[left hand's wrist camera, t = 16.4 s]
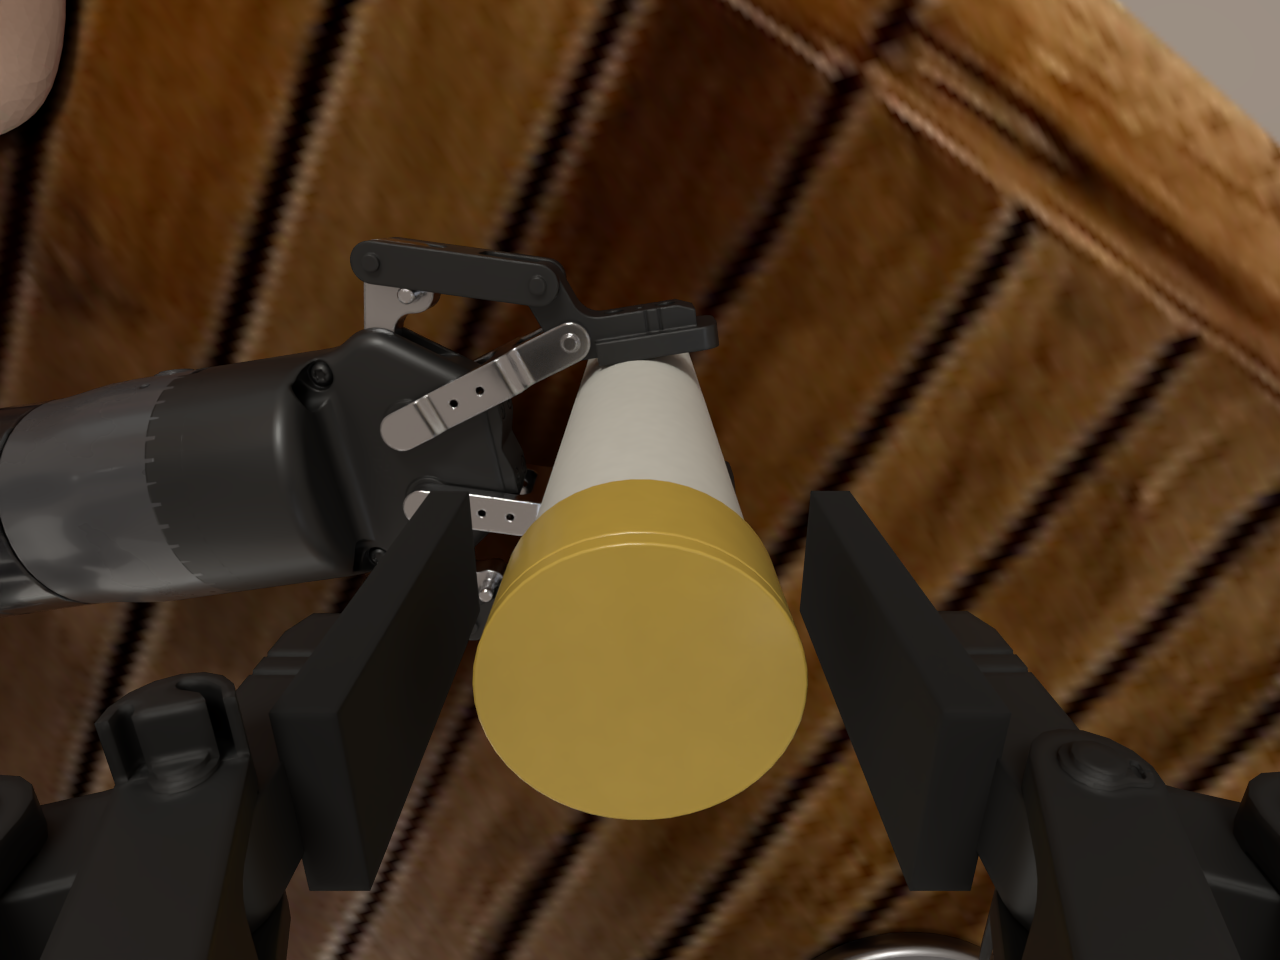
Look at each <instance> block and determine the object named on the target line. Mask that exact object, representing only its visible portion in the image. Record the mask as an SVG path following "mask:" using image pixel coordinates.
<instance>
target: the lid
mask: <svg viewBox="0 0 1280 960" xmlns="http://www.w3.org/2000/svg"><path fill="white" fill-rule="evenodd" d="M472 683H473V694H474V702H475V706H476V710H477V713H478V717H479V720H480V723H481V725H482V727H483V730H484V732H485V734H486V737H487V738H488V740H489V741H490V743H491V745H492V746H493V748H494V750H495V751H496V753H497V754H498V755H499V756H500V758H501V759H502V760H503V761H504V762H505V764H506V765H507V766H508V767H509V768H510V769H511V770H512V771H513V772H514V773H515V774H516V775H517V776H518V777H519V778H521V779H522V780H523V781H524V782H526V783H527V784H528V785H530V786H531V787H533V788H534V789H535V790H537V791H538V792H540V793H542V794H544V795H545V796H547V797H549V798H551V799H552V800H554V801H557V802H559V803H561V804H563V805H566V806H568V807H570V808H573V809H576V810H580V811H583V812H586V813H589V814H593V815H598V816H603V817H608V818H616V819H626V820H654V819H664V818H672V817H677V816H682V815H687V814H691V813H694V812H697V811H701V810H704V809H707V808H710V807H712V806H714V805H717V804H719V803H721V802H724V801H726V800H728V799H730V798H731V797H733V796H735V795H737V794H738V793H740V792H742V791H744V790H745V789H746V788H748V787H749V786H750V785H752V784H753V783H755V782H756V781H757V780H759V779H760V778H761V777H762V776H763V775H764V774H765V773H766V772H767V771H768V770H769V769H770V768H771V767H772V766H773V765H774V764H775V763H776V762H777V760H778V759H779V758H780V757H781V755H782V754H783V753H784V752H785V750H786V748H787V747H788V745H789V744H790V742H791V740H792V739H793V737H794V735H795V733H796V730H797V728H798V726H799V723H800V721H801V718H802V714H803V711H804V707H805V703H806V697H807V687H808V676H807V663H806V658H805V654H804V649H803V646H802V643H801V640H800V637H799V635H798V632H797V629H796V627H795V624H794V621H793V618H792V616H791V613H790V610H789V608H788V605H787V602H786V599H785V597H784V594H783V591H782V589H781V586H780V583H779V581H778V578H777V575H776V572H775V570H774V567H773V564H772V562H771V559H770V557H769V554H768V552H767V550H766V549H765V547H764V545H763V543H762V542H761V540H760V538H759V537H758V536H757V534H756V533H755V532H754V531H753V529H752V528H751V527H750V525H748V524H747V523H746V522H745V521H744V520H743V519H742V518H741V517H740V516H739V515H738V514H737V513H736V512H735V511H733V510H732V509H730V508H729V507H728V506H726V505H725V504H724V503H722V502H721V501H719V500H717V499H715V498H713V497H711V496H710V495H708V494H706V493H703V492H701V491H698V490H696V489H693V488H691V487H688V486H684V485H680V484H676V483H672V482H667V481H659V480H651V479H629V480H621V481H613V482H608V483H604V484H600V485H596V486H592V487H590V488H587V489H584V490H582V491H579V492H577V493H574V494H573V495H571V496H569V497H567V498H565V499H563V500H561V501H560V502H558V503H557V504H555V505H554V506H553V507H551V508H550V509H548V510H547V511H546V512H544V513H543V514H542V515H541V516H540V517H539V518H538V519H537V520H536V521H535V522H534V523H533V524H532V525H531V526H530V527H529V528H528V530H527V531H526V532H525V533H524V535H523V536H522V537H521V539H520V540H519V542H518V544H517V546H516V547H515V549H514V551H513V552H512V555H511V557H510V560H509V562H508V565H507V567H506V570H505V573H504V576H503V578H502V581H501V584H500V586H499V589H498V592H497V595H496V597H495V600H494V603H493V606H492V608H491V611H490V614H489V616H488V619H487V622H486V625H485V627H484V630H483V633H482V636H481V638H480V641H479V644H478V647H477V651H476V656H475V660H474V665H473V681H472Z"/></svg>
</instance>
